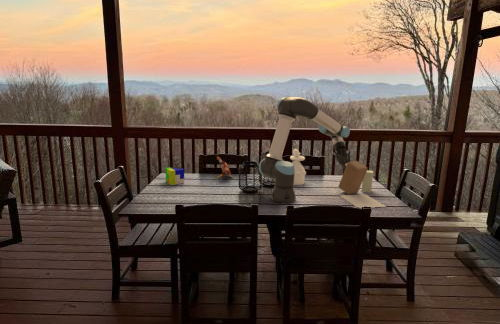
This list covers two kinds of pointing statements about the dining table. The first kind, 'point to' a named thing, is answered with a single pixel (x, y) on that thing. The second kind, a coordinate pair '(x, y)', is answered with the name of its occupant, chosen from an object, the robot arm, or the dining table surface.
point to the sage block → (367, 182)
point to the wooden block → (352, 177)
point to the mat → (362, 201)
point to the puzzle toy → (174, 175)
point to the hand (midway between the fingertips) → (348, 172)
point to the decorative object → (298, 168)
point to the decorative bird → (224, 168)
